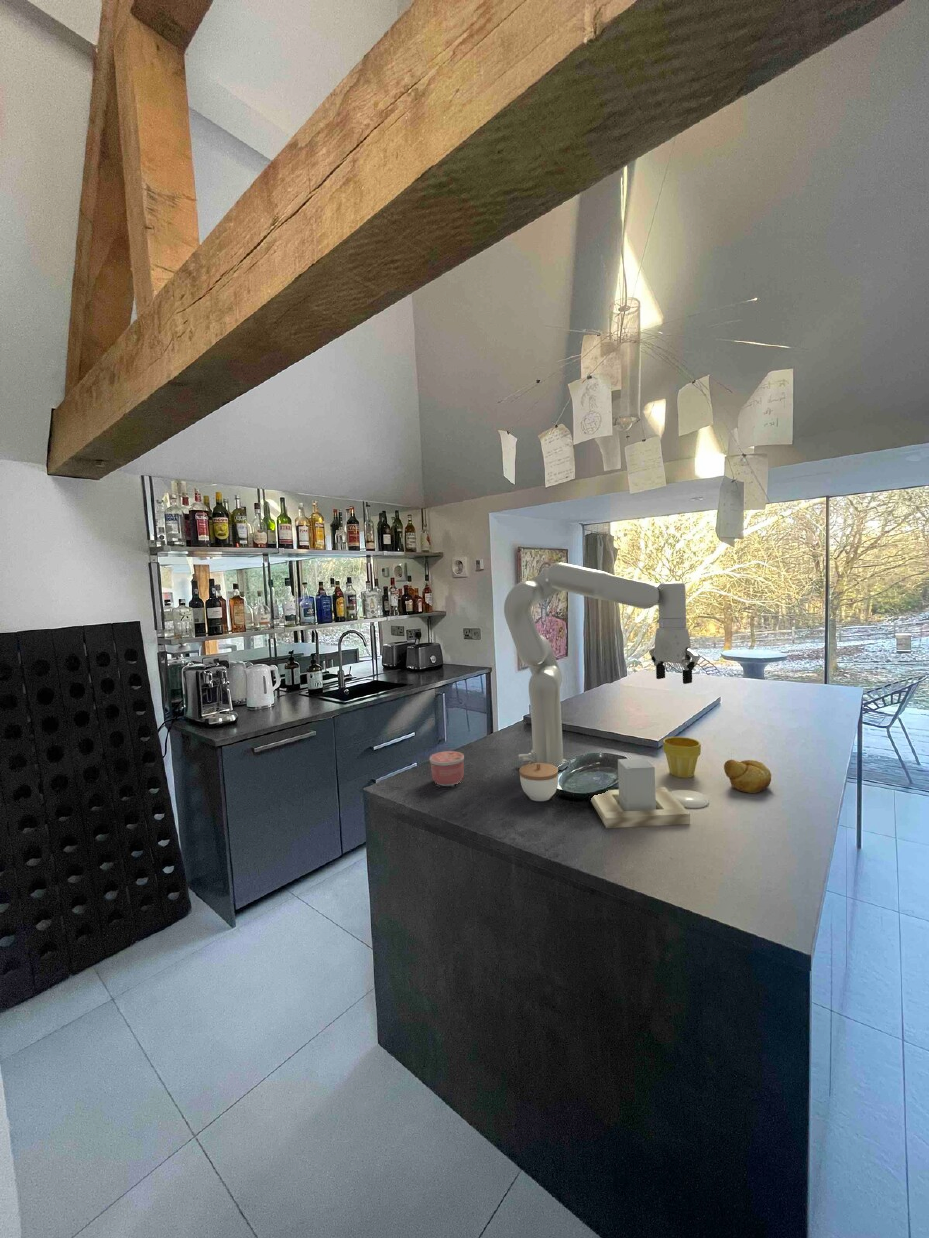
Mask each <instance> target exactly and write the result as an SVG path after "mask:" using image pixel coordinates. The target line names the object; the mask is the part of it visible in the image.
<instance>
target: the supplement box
mask: <svg viewBox="0 0 929 1238" xmlns="http://www.w3.org/2000/svg"><path fill="white" fill-rule="evenodd" d="M655 769H656V767H655V766H654V765H653V764H652V763H651V762H649V760H648V759H647V758H646V757H639V758H638V757H637V758H636V757H633V758H618V759H617V775H618V776H617V778H618V781H617V782H618V790H619V804H618V805H619V806H620V807H621V809H622V810H623V811H641V810H656V795H655V788H656V770H655Z"/></svg>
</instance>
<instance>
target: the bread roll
mask: <svg viewBox="0 0 929 1238" xmlns="http://www.w3.org/2000/svg"><path fill="white" fill-rule="evenodd" d="M723 770H724V773H725V776H726V777H727V778H728V779H729V780H730V781H729V782H730V785H731V786H732V787H733V788H734V789H736V790H738V791H739V792H740V791H741V792H744V793H749V794H756V793H759V792H761V791H764V790H766V789H767V788H769V786H770V784H771V781H772V773H771V771H770V770H769V768H768V767H767V766H766V765H765V764H764V763H763V762H760V761H759V760H752V759H746V760H741V761H737V760H735V759H728V760H727V761H725V763H724V765H723Z"/></svg>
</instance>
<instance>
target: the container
mask: <svg viewBox="0 0 929 1238" xmlns="http://www.w3.org/2000/svg"><path fill="white" fill-rule="evenodd" d="M464 760H465V754H464V753H462V752H460V751H453V750H445V751H440V752H436V753H433V754H431V755H430V756H429V762H430V771H431V777H432V780H433V781H434V783H435V784H436V783H437V784H440V785H454V784H458V783H459V782H460V781H461V782H462V780H463V778H464V774H465V773H464V768H465V766H464ZM461 782H460V783H461ZM458 785H459V784H458Z"/></svg>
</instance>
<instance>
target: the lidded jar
mask: <svg viewBox="0 0 929 1238" xmlns="http://www.w3.org/2000/svg"><path fill="white" fill-rule="evenodd" d="M518 771H519V780H520V785H521V788H522V790H523V792H524V794H525V795H526V796H527V797H528V798H529V799H530V800H532V801H535V802H546V801H549V800H550V799H551V798H552V796H553V795H554V794H555V793H556V792H557V790H558V786H559V772H558V768H557V767H556V766H554V765H551V764H547V763H531V764H529V763H528V764H524V765H522V766H521V767H520V768H519V770H518Z"/></svg>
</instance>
